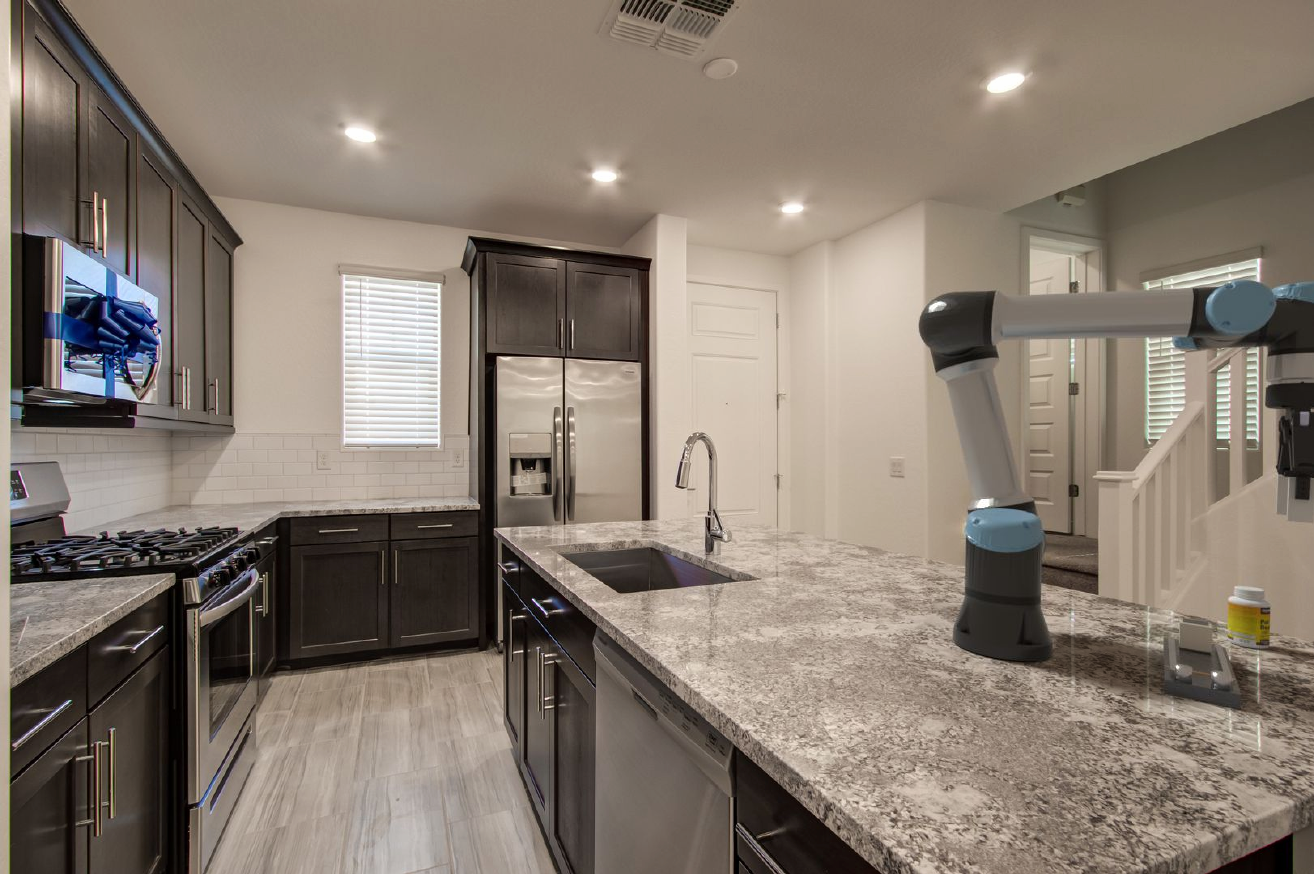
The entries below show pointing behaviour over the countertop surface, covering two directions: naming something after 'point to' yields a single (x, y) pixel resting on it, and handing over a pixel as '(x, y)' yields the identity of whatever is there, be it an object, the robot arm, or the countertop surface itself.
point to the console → (1200, 674)
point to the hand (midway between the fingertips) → (1293, 518)
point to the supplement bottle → (1249, 618)
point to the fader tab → (1195, 635)
